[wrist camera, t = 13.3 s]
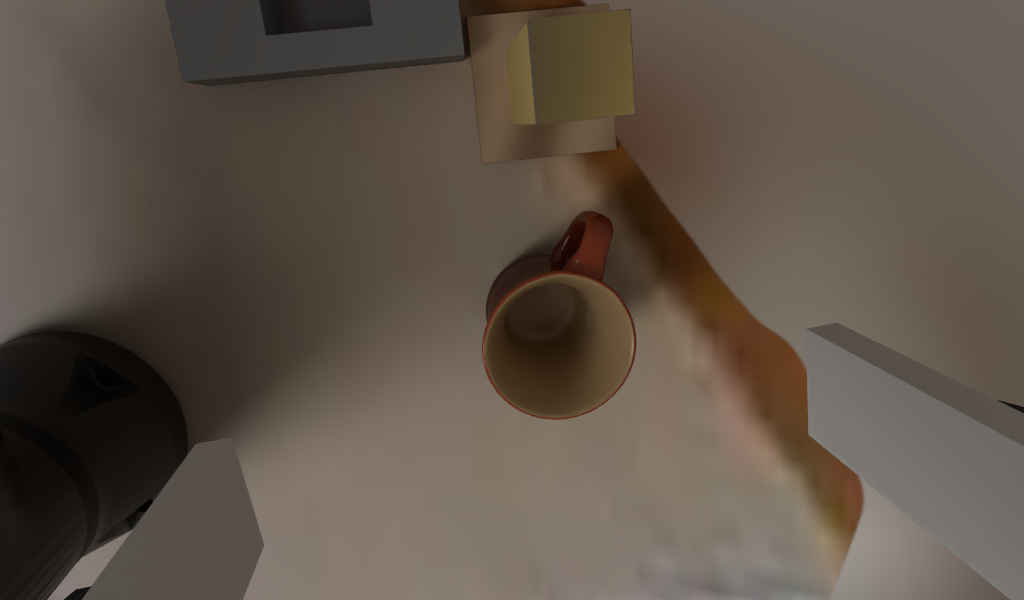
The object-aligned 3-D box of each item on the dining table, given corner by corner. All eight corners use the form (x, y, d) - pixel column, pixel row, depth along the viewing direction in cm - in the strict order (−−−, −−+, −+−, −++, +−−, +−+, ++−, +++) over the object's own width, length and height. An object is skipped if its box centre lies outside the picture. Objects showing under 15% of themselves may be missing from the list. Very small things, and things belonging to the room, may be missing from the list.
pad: (482, 163, 43) (482, 163, 43) (466, 18, 41) (466, 16, 40) (614, 148, 44) (616, 149, 43) (606, 5, 41) (608, 3, 41)
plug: (512, 124, 42) (538, 124, 30) (505, 50, 41) (529, 18, 29) (580, 117, 43) (635, 114, 30) (575, 44, 41) (630, 8, 29)
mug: (570, 373, 48) (602, 437, 38) (458, 337, 46) (460, 395, 36) (633, 220, 45) (684, 247, 35) (516, 177, 44) (535, 193, 34)
